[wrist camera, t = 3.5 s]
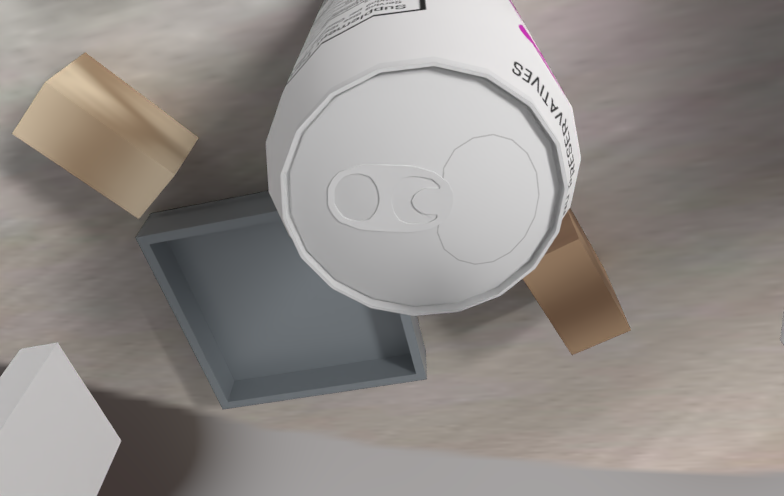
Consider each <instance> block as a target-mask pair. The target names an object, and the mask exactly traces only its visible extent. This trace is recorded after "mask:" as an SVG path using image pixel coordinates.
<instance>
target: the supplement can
mask: <svg viewBox="0 0 784 496" xmlns="http://www.w3.org/2000/svg"><path fill="white" fill-rule="evenodd" d="M266 157H267V173H268V188H269V194H270V196H271V198H272V200H273V202H274V205H275V207H276V209H277V211H278V213H279V215H280V217H281V219H282V222H283V224H284V226H285V228H286V230H287V232H288V234H289V236H290V237H291V238H292V240H293V242H294V244H295V246H296V248H297V250H298V253H299V255H300V257H301V258H302V259H303V260H304V261H305V262H306V263H307V264H308V265H309V266H310V267H311V268H312V269H313V270H314V271H315V272H316V273H317V274H318V275H319V276H320V277H321V278H322V279H323V280H324V281H325V282H326V283H327V284H328V285H329V286H330V287H331V288H332V289H334V290H336V291H338V292H340V293H342V294H344V295H346V296H348V297H350V298H352V299H354V300H356V301H358V302H360V303H362V304H364V305H366V306H368V307H370V308H373V309H379V310H384V311H389V312H395V313H400V314H406V315H411V316H420V315H431V314H442V313H453V312H460V311H463V310H465V309H468V308H470V307H473V306H476V305H478V304H481V303H483V302H486V301H489V300H491V299H494V298H496V297H499V296H501V295H502V294H503V293H505V292H506V291H507V290H509V289H510V288H511V287H512V286H514V285H515V284H516V283H518V282H519V281H520V280H521V279H523V278H524V277H525V276H527V275H528V274H529V273H530V272H532V271H533V270H534V269H535V268H536V267H537V265H538V264H539V262H540V261H541V259H542V258H543V256H544V255H545V253H546V252H547V250H548V249H549V247H550V245H551V244H552V242H553V241H554V239H555V238H556V236H557V235H558V233H559V231H560V227H561V222H562V219H563V217H564V216H565V214H566V213H567V211H568V210H569V208H570V207H571V202H572V197H573V193H574V188H575V184H576V179H577V175H578V170H579V166H580V161H581V155H580V149H579V143H578V137H577V132H576V126H575V120H574V114H573V109H572V106H571V104H570V103H569V101H568V99H567V97H566V96H565V94H564V92H563V90H562V89H561V87H560V85H559V83H558V82H557V80H556V78H555V76H554V75H553V73H552V71H551V70H550V68H549V66H548V64H547V63H546V61H545V59H544V57H543V56H542V54H541V52H540V50H539V49H538V47H537V45H536V43H535V42H534V40H533V38H532V36H531V35H530V33H529V31H528V29H527V28H526V26H525V24H524V22H523V21H522V19H521V17H520V15H519V14H518V12H517V10H516V8H515V7H514V5H513V3H512V1H511V0H324V1H323V3H322V5H321V8H320V10H319V12H318V14H317V17H316V19H315V21H314V23H313V26H312V28H311V30H310V32H309V35H308V37H307V39H306V41H305V43H304V46H303V48H302V50H301V52H300V55H299V57H298V59H297V61H296V64H295V66H294V68H293V70H292V73H291V75H290V77H289V79H288V82H287V84H286V86H285V88H284V91H283V93H282V96H281V99H280V102H279V105H278V108H277V111H276V114H275V117H274V120H273V122H272V125H271V128H270V131H269V134H268V137H267V140H266Z"/></svg>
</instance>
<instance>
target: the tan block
mask: <svg viewBox="0 0 784 496" xmlns="http://www.w3.org/2000/svg"><path fill="white" fill-rule="evenodd" d="M12 134H13V135H15V136H16V137H18V138H19V139H20V140H22V141H23V142H25V143H26V144H28V145H29V146H31V147H32V148H34V149H35V150H37V151H38V152H40V153H41V154H43V155H44V156H46V157H47V158H49V159H50V160H52V161H53V162H55V163H56V164H58V165H59V166H61V167H62V168H64V169H65V170H67V171H68V172H69V173H71V174H72V175H74V176H75V177H77V178H78V179H80V180H81V181H83V182H84V183H86V184H87V185H89V186H90V187H92V188H93V189H95V190H96V191H98V192H99V193H101V194H102V195H104V196H105V197H107V198H108V199H110V200H111V201H113V202H114V203H116V204H117V205H119V206H120V207H121V208H123V209H124V210H126V211H127V212H129V213H130V214H132V215H133V216H135V217H136V218H138V219H139V218H140V217H141V216H142V215H143V213H144V212H145V211H146V210H147V208H148V207H149V206H150V205H151V204H152V202H153V201H154V200H155V199H156V198H157V196H158V195H159V194H160V193H161V191H162V190H163V189H164V188H165V187H166V185H167V184H168V183H169V182H170V181H171V179H172V178H173V177H174V176H175V174H176V173H177V171H178V170H179V168H180V167H181V165H182V163H183V162H184V160H185V159H186V157H187V156H188V154H189V153H190V151H191V149H192V148H193V146H194V145H195V143H196V142H197V140H198V139H199V138H198V137H197V136H196V135H194V134H193V133H192V132H190V131H189V130H188V129H186V128H185V127H184V126H182V125H181V124H180V123H178V122H177V121H176V120H174V119H173V118H172V117H170V116H169V115H168V114H166V113H165V112H164V111H162V110H161V109H160V108H158V107H157V106H156V105H154V104H153V103H152V102H151V101H149V100H148V99H147V98H145V97H144V96H143V95H141V94H140V93H139V92H137V91H136V90H135V89H133V88H132V87H131V86H129V85H128V84H127V83H125V82H124V81H123V80H121V79H120V78H119V77H117V76H116V75H115V74H113V73H112V72H111V71H109V70H108V69H107V68H105V67H104V66H103V65H101V64H100V63H99V62H97V61H96V60H95V59H93V58H92V57H91V56H89V55H88V54H87V53H84V54H82V55H81V56H80V57H78V58H77V59H76V60H74V61H73V62H72V63H70V64H69V65H68V66H66V67H65V68H64V69H62V70H61V71H59V72H58V73H57V74H55V75H54V76H53V77H51V78H50V79H49V80H47V81H46V82H45V83H44V85H43V86H42V88H41V89H40V91H39V93H38V94H37V96H36V97H35V99H34V100H33V102H32V103H31V105H30V106H29V108H28V110H27V111H26V113H25V114H24V116H23V117H22V119H21V120H20V122H19V124H18V125H17V127H16V128H15V130H14V131H13V133H12Z"/></svg>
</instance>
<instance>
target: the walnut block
mask: <svg viewBox="0 0 784 496" xmlns="http://www.w3.org/2000/svg"><path fill="white" fill-rule="evenodd" d="M523 280H524V282H525V283H526V285H527V286H528V288H529V289H530V291H531V292H532V294H533V296H534V297H535V299H536V300H537V302H538V303H539V305H540V306H541V308H542V309H543V311H544V313H545V314H546V316H547V317H548V319H549V320H550V322H551V323H552V325H553V326H554V328H555V330H556V331H557V333H558V334H559V336H560V337H561V339H562V340H563V342H564V343H565V345H566V347H567V348H568V350H569V351H570V353H571V354H572V355H573V354H576V353H578V352H581V351H583V350H585V349H588V348H590V347H592V346H595V345H597V344H600V343H602V342H604V341H607V340H609V339H611V338H614V337H616V336H619V335H621V334H623V333H626V332H628V331H630V330H631V329H630V327H629V324H628V322H627V320H626V317H625V315H624V313H623V311H622V308H621V306H620V304H619V301H618V299H617V297H616V294H615V292H614V290H613V288H612V285H611V283H610V281H609V278H608V276H607V274H606V271H605V269H604V268H603V266H602V264H601V262H600V260H599V259H598V257H597V255H596V253H595V251H594V250H593V248H592V246H591V244H590V243H589V241H588V239H587V237H586V235H585V234H584V232H583V230H582V228H581V227H580V225H579V223H578V221H577V219H576V218H575V216H574V214H573V212H572V211H571V209H570V208H569V210H568V211H567V213H566V214H565V216H564V217H563V219H562V222H561V227H560V231H559V233H558V235H557V236H556V238H555V239H554V241H553V242H552V244H551V245H550V247H549V249H548V250H547V252H546V253H545V255H544V256H543V258H542V259H541V261H540V262H539V264H538V265H537V267H536V268H535V269H534V270H533V271H532V272H530V273H529V274H528V275H527V276H525V277H524V278H523Z"/></svg>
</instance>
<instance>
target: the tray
mask: <svg viewBox="0 0 784 496" xmlns="http://www.w3.org/2000/svg"><path fill="white" fill-rule="evenodd" d="M135 238H136V240H137V242H138V244H139V246H140V248H141V250H142V252H143V254H144V255H145V257H146V259H147V261H148V263H149V265H150V267H151V269H152V271H153V273H154V275H155V277H156V279H157V281H158V283H159V285H160V287H161V289H162V291H163V293H164V295H165V297H166V299H167V301H168V303H169V305H170V307H171V309H172V310H173V312H174V314H175V316H176V318H177V320H178V322H179V324H180V326H181V328H182V330H183V332H184V334H185V336H186V338H187V340H188V342H189V344H190V346H191V348H192V350H193V352H194V354H195V356H196V358H197V360H198V362H199V364H200V365H201V367H202V369H203V371H204V373H205V375H206V377H207V379H208V381H209V383H210V385H211V387H212V389H213V391H214V393H215V395H216V397H217V399H218V401H219V403H220V405H221V407H222V409H229V408H236V407H243V406H249V405H256V404H263V403H270V402H276V401H283V400H290V399H297V398H303V397H310V396H317V395H324V394H330V393H337V392H344V391H351V390H357V389H364V388H371V387H378V386H385V385H391V384H398V383H405V382H412V381H418V380H425V379H427V370H426V350H425V346H424V342H423V338H422V334H421V331H420V327H419V323H418V319H417V316H411V315H406V314H400V313H395V312H389V311H384V310H379V309H373V308H370V307H368V306H366V305H364V304H362V303H360V302H358V301H356V300H354V299H352V298H350V297H348V296H346V295H344V294H342V293H340V292H338V291H336V290H334V289H332V288H331V287H330V286H329V285H328V284H327V283H326V282H325V281H324V280H323V279H322V278H321V277H320V276H319V275H318V274H317V273H316V272H315V271H314V270H313V269H312V268H311V267H310V266H309V265H308V264H307V263H306V262H305V261H304V260H303V259H302V258H301V257H300V255H299V253H298V250H297V248H296V246H295V244H294V242H293V240H292V238H291V237H290V236H289V234H288V232H287V230H286V228H285V226H284V224H283V222H282V219H281V217H280V215H279V213H278V211H277V209H276V207H275V205H274V202H273V200H272V198H271V196H270V194H269V191H266V192H261V193H255V194H250V195H245V196H240V197H235V198H229V199H224V200H219V201H214V202H209V203H203V204H198V205H193V206H188V207H183V208H177V209H172V210H167V211H162V212H157V213H151V214H150V216H149V217H148V219H147V220H146V222H145V223H144V225H143V227H142V228H141V230H140V231H139V233H138V234H137V236H136V237H135Z"/></svg>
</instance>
